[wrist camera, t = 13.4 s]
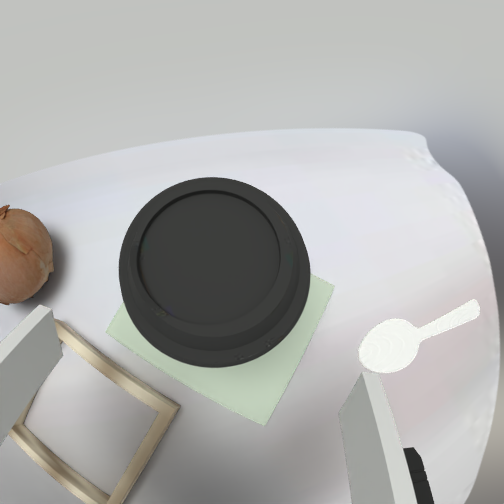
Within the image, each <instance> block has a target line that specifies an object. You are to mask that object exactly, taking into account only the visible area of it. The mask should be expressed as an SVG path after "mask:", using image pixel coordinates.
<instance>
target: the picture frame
mask: <svg viewBox="0 0 504 504" xmlns="http://www.w3.org/2000/svg"><path fill="white" fill-rule="evenodd" d="M54 321H55V326H56V330H57V334H58V338H59V342H60V345H61V343H62V341H63V342H64V343H65V344H67V345H68V346H69V347H70V348H71V349H72V350H74V351H75V352H76V353H77V354H78V355H80V356H81V357H82V358H83V359H84V360H86V361H87V362H88V363H89V364H91V365H92V366H93V367H94V368H96V369H97V370H98V371H100V372H101V373H102V374H104V375H105V376H106V377H108V378H109V379H110V380H112V381H113V382H114V383H116V384H117V385H118V386H120V387H121V388H123V389H124V390H125V391H127V392H128V393H130V394H131V395H133V396H134V397H136V398H137V399H139V400H140V401H142V402H143V403H145V404H146V405H148V406H149V407H151V408H153V409H154V410H156V411H157V412H159V414H158V415H157V417H156V419H155V421H154V422H153V424H152V426H151V427H150V429H149V431H148V433H147V434H146V436H145V438H144V440H143V441H142V443H141V445H140V446H139V448H138V450H137V452H136V453H135V455H134V457H133V459H132V460H131V462H130V464H129V465H128V467H127V469H126V471H125V472H124V474H123V476H122V478H121V479H120V481H119V483H118V484H117V486H116V488H115V490H114V491H113V493H112V495H111V496H108V495H107V494H105V493H104V492H103V491H101V490H100V489H98V488H97V487H95V486H94V485H93V484H91V483H90V482H88V481H87V480H86V479H84V478H83V477H82V476H80V475H79V474H78V473H77V472H75V471H74V470H73V469H71V468H70V467H69V466H68V465H67V464H65V463H64V462H63V461H62V460H61V459H59V458H58V457H57V456H56V455H55V454H54V453H52V452H51V451H50V450H49V449H48V448H47V447H46V446H45V445H44V444H43V443H41V442H40V441H39V440H38V439H37V438H36V437H35V436H34V435H33V434H32V433H31V432H30V431H29V430H28V429H27V428H26V427H25V426H24V425H23V423H24V420H25V418H26V416H27V413H28V411H29V409H30V406H31V404H32V402H33V399H34V397H35V395H36V393H37V392H36V393H35V394H34V396H33V397H32V399H31V400H30V402H29V403H28V404H27V406H26V407H25V409H24V410H23V412H22V413H21V415H20V416H19V418H18V419H17V421H16V422H15V424H14V425H13V427H12V428H11V430H10V431H9V433H8V434H9V436H10V437H11V438H12V439H13V440H14V441H15V442H16V443H17V444H18V445H19V446H20V447H21V448H22V449H23V450H24V451H25V452H26V453H27V454H28V455H29V456H30V457H31V458H32V459H33V460H34V461H35V462H36V463H37V464H38V465H39V466H40V467H42V468H43V469H44V470H45V471H46V472H47V473H48V474H49V475H51V476H52V477H53V478H54V479H55V480H56V481H58V482H59V483H60V484H61V485H63V486H64V487H65V488H66V489H68V490H69V491H70V492H71V493H73V494H74V495H75V496H77V497H78V498H79V499H81V500H82V501H83V502H85V503H86V504H123V502H124V500H125V499H126V497H127V495H128V494H129V492H130V491H131V489H132V487H133V486H134V484H135V482H136V481H137V479H138V477H139V476H140V474H141V472H142V471H143V469H144V467H145V466H146V464H147V462H148V460H149V459H150V457H151V455H152V454H153V452H154V450H155V449H156V447H157V445H158V444H159V442H160V440H161V439H162V437H163V435H164V433H165V432H166V430H167V428H168V427H169V425H170V423H171V422H172V420H173V418H174V416H175V415H176V413H177V411H178V410H179V408H180V405H179V404H177V403H175V402H173V401H172V400H170V399H168V398H167V397H165V396H164V395H162V394H160V393H159V392H157V391H156V390H154V389H152V388H151V387H149V386H148V385H146V384H145V383H143V382H142V381H140V380H139V379H137V378H136V377H134V376H133V375H131V374H130V373H129V372H127V371H126V370H124V369H123V368H121V367H120V366H119V365H117V364H116V363H114V362H113V361H112V360H110V359H109V358H108V357H106V356H105V355H104V354H102V353H101V352H100V351H98V350H97V349H96V348H95V347H93V346H92V345H91V344H90V343H88V342H87V341H86V340H85V339H83V338H82V337H81V336H80V335H78V334H77V333H76V332H75V331H74V330H72V329H71V328H70V327H69V326H68V325H67V324H65V323H64V322H63V321H60V320H57V319H55V318H54ZM37 391H38V390H37Z"/></svg>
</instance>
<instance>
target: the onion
mask: <svg viewBox="0 0 504 504" xmlns="http://www.w3.org/2000/svg"><path fill="white" fill-rule="evenodd" d="M9 206H10V205H6V206H3V207H2V208H0V303H2V304H5V305H9V303H20V302H23V301H24V300H26V299H28V298H33V297H32V296H33V295H34V294H35V293H36V292H38V291H39V289H40V288H42V287H43V284H44V283H45V282H47V281H48V278H49V276H48V275H49V273H50V272H53V271H54V266H53V261H52V258H53V250H52V246H53V245H52V241H51V238H50V236H49V234H48V231H47V229H46V228H45V226H44V225H43V224H42V222H41V221H40V220H39V219H38V218H37V217H36V216H34V215H33V214H31V213H30V212H28V211H25V210H22V209H8V208H9Z"/></svg>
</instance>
